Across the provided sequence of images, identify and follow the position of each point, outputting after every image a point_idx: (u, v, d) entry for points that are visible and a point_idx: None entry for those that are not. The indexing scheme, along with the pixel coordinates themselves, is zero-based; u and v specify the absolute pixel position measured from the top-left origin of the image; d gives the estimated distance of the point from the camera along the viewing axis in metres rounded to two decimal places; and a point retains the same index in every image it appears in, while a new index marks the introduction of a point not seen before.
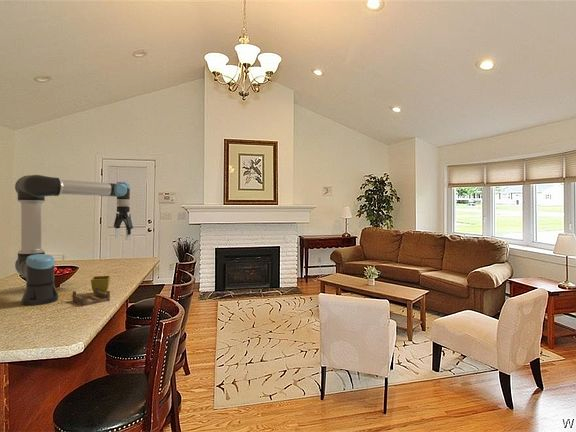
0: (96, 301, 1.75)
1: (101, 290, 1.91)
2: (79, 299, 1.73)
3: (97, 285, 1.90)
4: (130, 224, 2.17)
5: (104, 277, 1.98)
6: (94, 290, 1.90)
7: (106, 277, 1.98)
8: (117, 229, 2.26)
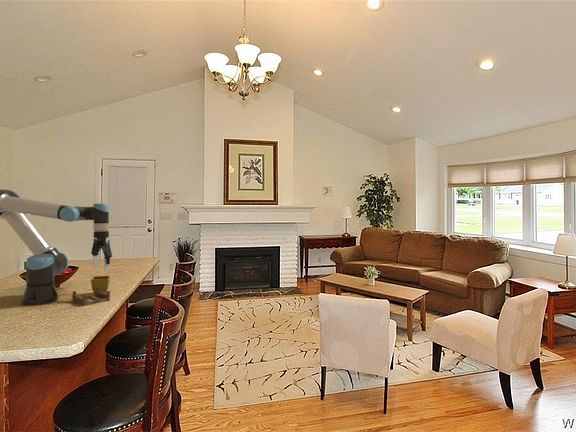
0: (96, 301, 1.75)
1: (101, 290, 1.91)
2: (79, 299, 1.73)
3: (97, 285, 1.90)
4: (109, 252, 1.88)
5: (104, 277, 1.98)
6: (94, 290, 1.90)
7: (106, 277, 1.98)
8: (95, 257, 1.97)
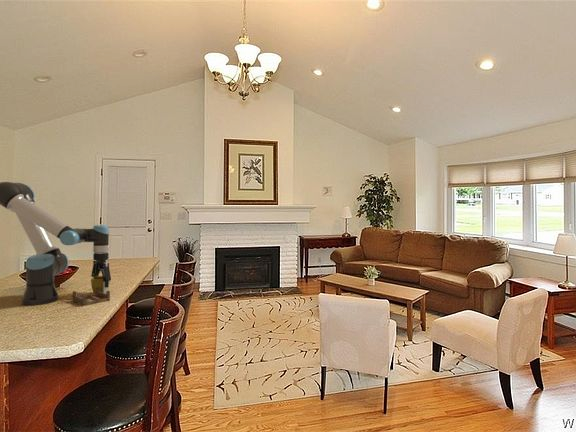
0: (96, 301, 1.75)
1: (101, 290, 1.91)
2: (79, 299, 1.73)
3: (97, 285, 1.90)
4: (108, 276, 1.88)
5: None
6: (94, 290, 1.90)
7: None
8: None
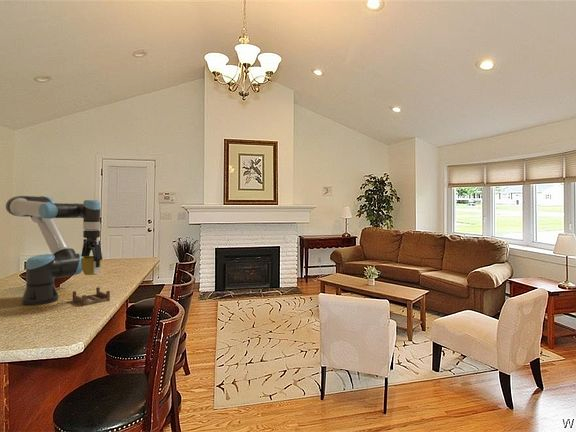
0: (96, 301, 1.75)
1: (92, 270, 1.75)
2: (79, 299, 1.73)
3: (87, 265, 1.74)
4: (99, 254, 1.73)
5: None
6: (84, 270, 1.74)
7: None
8: None
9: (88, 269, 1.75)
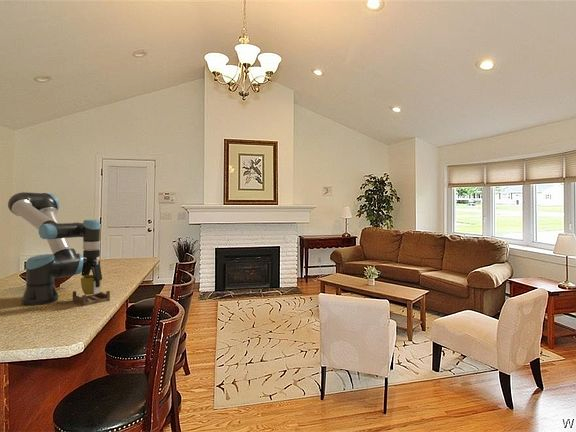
0: (96, 301, 1.75)
1: (92, 290, 1.76)
2: (79, 299, 1.73)
3: (87, 285, 1.74)
4: (99, 274, 1.73)
5: None
6: (84, 290, 1.74)
7: None
8: None
9: (88, 289, 1.75)
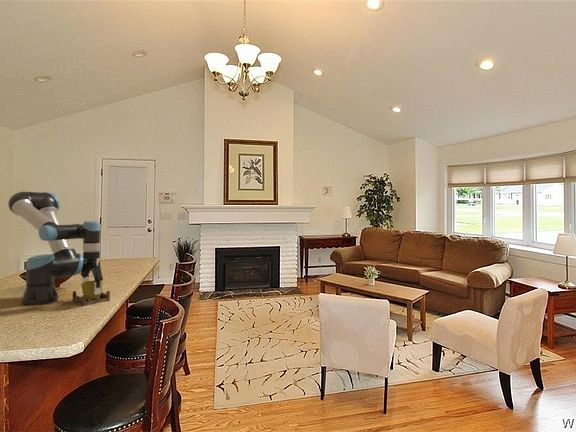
0: (96, 301, 1.75)
1: (93, 294, 1.75)
2: (79, 299, 1.73)
3: (88, 289, 1.74)
4: (99, 275, 1.73)
5: None
6: None
7: None
8: (85, 279, 1.82)
9: (89, 293, 1.74)
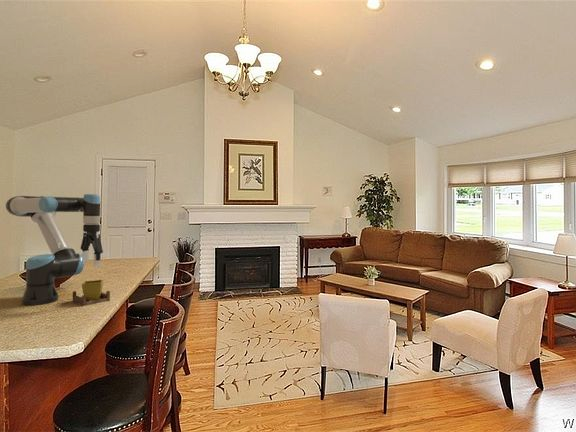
0: (96, 301, 1.75)
1: (93, 295, 1.75)
2: (79, 299, 1.73)
3: (89, 290, 1.74)
4: (99, 247, 1.72)
5: (96, 281, 1.82)
6: (86, 295, 1.74)
7: (98, 281, 1.82)
8: (85, 252, 1.82)
9: (89, 294, 1.74)
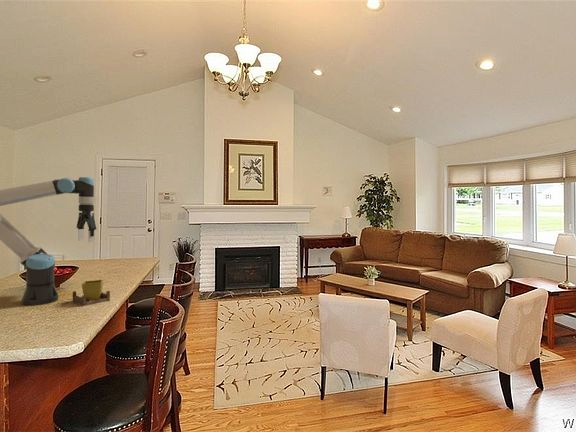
0: (96, 301, 1.75)
1: (93, 295, 1.75)
2: (79, 299, 1.73)
3: (89, 290, 1.74)
4: (93, 225, 1.92)
5: (96, 281, 1.82)
6: (86, 295, 1.74)
7: (98, 281, 1.82)
8: (80, 230, 2.02)
9: (89, 294, 1.74)
